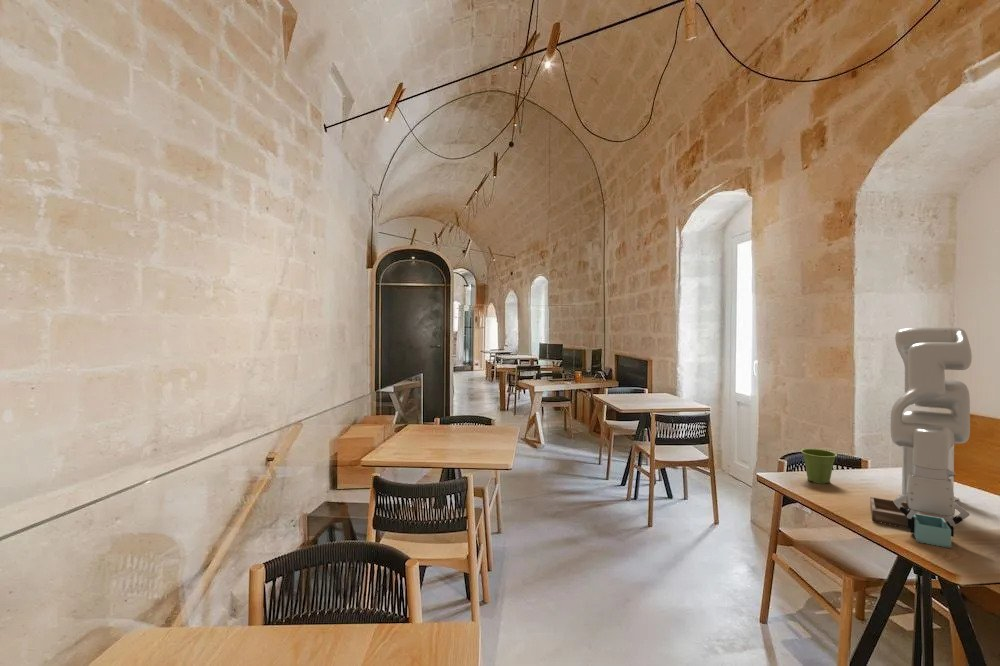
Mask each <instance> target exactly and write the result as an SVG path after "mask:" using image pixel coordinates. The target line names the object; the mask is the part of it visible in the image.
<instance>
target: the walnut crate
mask: <svg viewBox="0 0 1000 666" xmlns="http://www.w3.org/2000/svg"><path fill="white" fill-rule="evenodd" d="M893 501H894V500H892V499H887V498H880V497H874V496H870V500H869V502H870V506H869V509H870V508H871V509H870V514H871V515H870V516H871V521H876V522H875V523H878V522H882V523H881V524H883V523H886V524H885V525H889V524H891V525H890V526H894V525H896V526H895V527H899V526H901V528H905V527H906V529H908V528H907V516H906V515H904V514H903V513H902V512H901V511H900V509H899V508H898V507H897V506H896V505H895V504H894V502H893ZM901 504H902V506H903V507H904V508H906V509H907V510H908V509H909V507H908V504H907V503H906V502H903V503H901ZM915 514H921V512H918V511H917V512H916V513H915Z"/></svg>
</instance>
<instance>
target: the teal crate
mask: <svg viewBox="0 0 1000 666" xmlns="http://www.w3.org/2000/svg"><path fill="white" fill-rule="evenodd" d="M913 518H914V533H912V534H913V536H914V538H916V539H915V541H916V542H917V543H919V542H920V543H921V544H924V543H926V545H930V544H931V546H935V545H936V547H940V546H941V548H946V549H952V536H951V529H950V527H949V526H948V524H947V523H946V522H947V520H946V519H945V518H944V517H938V516H934V515H926V514H922V513H920V514H915V515H914V516H913ZM920 543H919V544H920Z"/></svg>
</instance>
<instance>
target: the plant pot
mask: <svg viewBox="0 0 1000 666" xmlns="http://www.w3.org/2000/svg"><path fill="white" fill-rule="evenodd" d="M800 453H802V458H803V459H804V466H805V467H804V468H805V472H806V476H807V480H808V481H809V482H813V483H816V484H821V483H822V484H823V485H824V484H827V483H828V484H829V483H830V482H831V478H832V472H833V467H834V462H835V460H836V457H837V456H838V454H837V453H835V452H834V451H830V450H826V449H821V448H820V449H819V448H803V449H800ZM822 484H821V485H822Z"/></svg>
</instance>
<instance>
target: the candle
mask: <svg viewBox="0 0 1000 666" xmlns="http://www.w3.org/2000/svg"><path fill="white" fill-rule="evenodd" d="M954 459H955V444H954V445H953V447H951V448H950V449H949V450H948V469H949V470H950V471H954V472H955V470H954V469H955V468H954V467H955V465H954V464H955V460H954ZM954 477H955V476H950V477H949V479H951V481H952V485H953V491H954V489H955V488H954V483H955V481H954ZM954 492H955V491H954ZM954 500H955V501H958V500H959V496H957V495H956V494H954Z"/></svg>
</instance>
